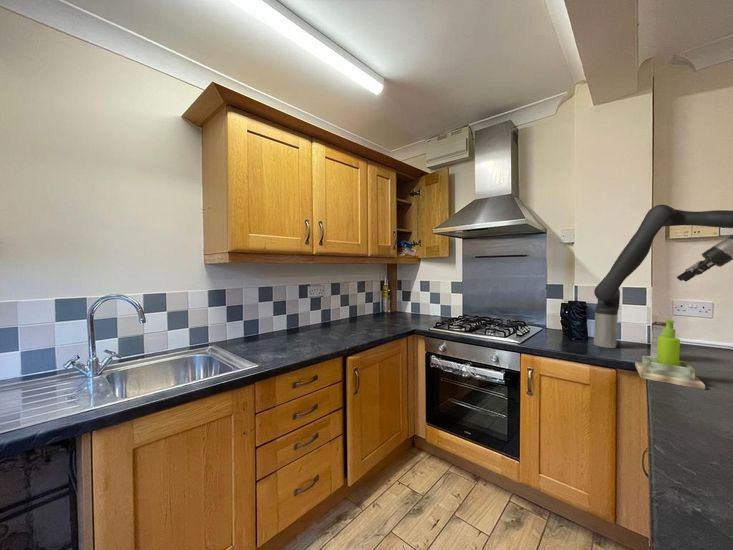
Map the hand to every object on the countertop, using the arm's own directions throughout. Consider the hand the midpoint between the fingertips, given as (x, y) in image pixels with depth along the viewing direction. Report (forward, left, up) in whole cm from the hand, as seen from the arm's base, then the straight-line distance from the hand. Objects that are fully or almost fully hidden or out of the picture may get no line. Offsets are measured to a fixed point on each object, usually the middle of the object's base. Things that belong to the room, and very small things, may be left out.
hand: (680, 279), depth 126 cm
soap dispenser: (-6, -23, -35) cm, 43 cm away
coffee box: (-4, +9, -37) cm, 38 cm away
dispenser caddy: (-7, -24, -37) cm, 44 cm away
